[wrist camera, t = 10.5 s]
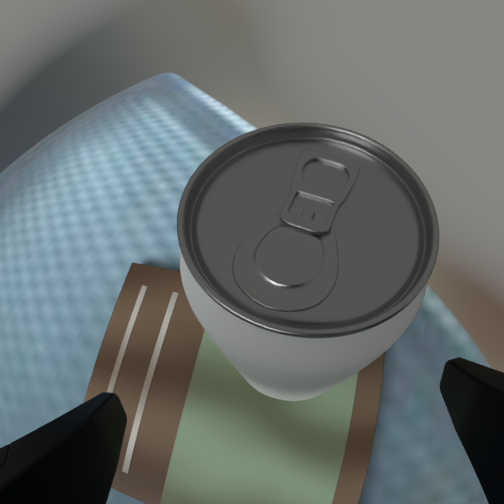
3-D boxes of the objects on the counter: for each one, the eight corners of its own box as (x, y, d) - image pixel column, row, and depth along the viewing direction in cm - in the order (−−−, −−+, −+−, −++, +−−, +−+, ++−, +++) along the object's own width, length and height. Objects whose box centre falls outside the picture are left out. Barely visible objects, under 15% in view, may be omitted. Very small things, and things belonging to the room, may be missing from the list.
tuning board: (342, 537, 10) (345, 543, 10) (78, 463, 14) (69, 464, 13) (383, 308, 18) (387, 301, 17) (137, 269, 21) (132, 262, 20)
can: (215, 373, 16) (99, 276, 6) (263, 277, 19) (240, 98, 8) (325, 418, 14) (428, 412, 4) (364, 313, 17) (455, 155, 7)
